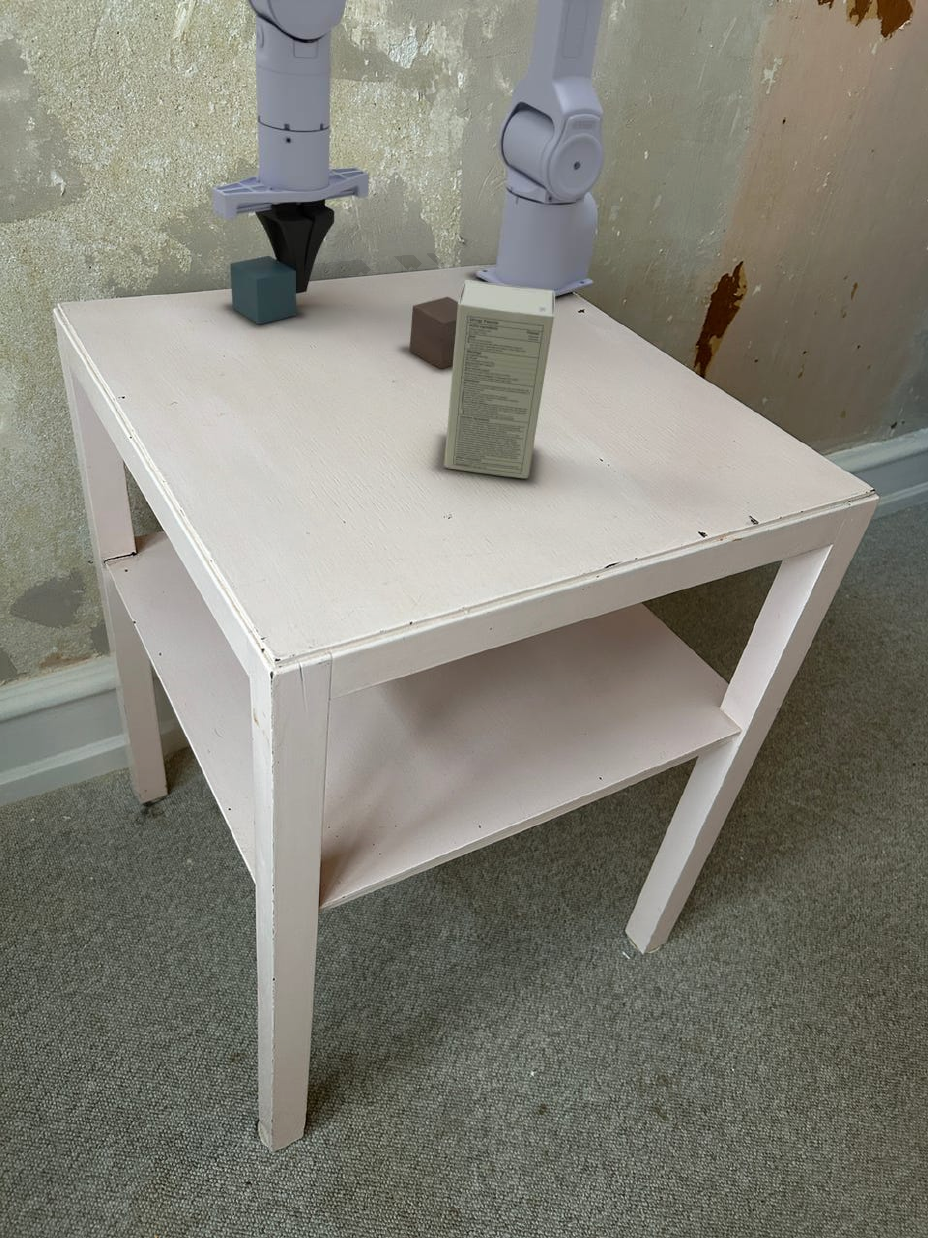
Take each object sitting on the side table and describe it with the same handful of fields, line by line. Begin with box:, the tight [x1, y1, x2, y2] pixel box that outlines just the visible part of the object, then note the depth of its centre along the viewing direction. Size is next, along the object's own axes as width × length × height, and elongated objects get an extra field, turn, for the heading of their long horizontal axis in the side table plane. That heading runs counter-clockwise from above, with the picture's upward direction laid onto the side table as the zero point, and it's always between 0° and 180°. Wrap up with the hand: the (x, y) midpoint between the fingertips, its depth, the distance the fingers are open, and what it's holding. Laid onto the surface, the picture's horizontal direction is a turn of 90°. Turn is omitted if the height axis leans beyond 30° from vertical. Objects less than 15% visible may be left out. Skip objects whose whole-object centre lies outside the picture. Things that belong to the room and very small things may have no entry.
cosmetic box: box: [443, 279, 556, 479], centre depth 64 cm, size 6×4×12 cm
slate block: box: [229, 255, 297, 325], centre depth 82 cm, size 4×4×4 cm
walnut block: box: [409, 296, 459, 370], centre depth 79 cm, size 4×4×4 cm
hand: (294, 288), depth 84 cm, fingers closed
